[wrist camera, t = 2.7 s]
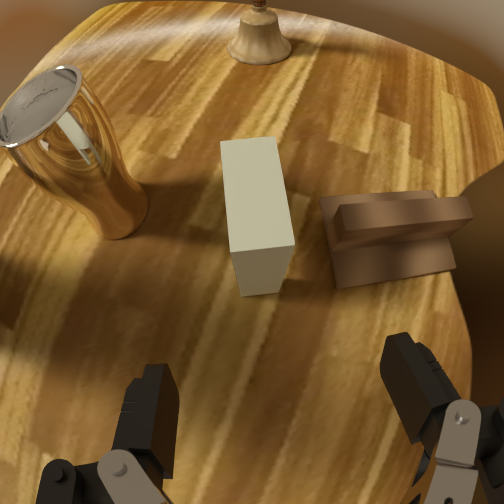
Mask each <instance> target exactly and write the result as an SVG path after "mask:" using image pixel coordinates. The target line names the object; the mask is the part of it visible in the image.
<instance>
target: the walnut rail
mask: <svg viewBox="0 0 504 504" xmlns="http://www.w3.org/2000/svg"><path fill="white" fill-rule="evenodd" d="M319 203H320V207H321V212H322V217H323V221H324V226H325V231H326V235H327V240H328V245H329V250H330V256H331V261H332V266H333V271H334V277H335V282H336V288H337V289H341V288H348V287H355V286H361V285H368V284H374V283H380V282H386V281H392V280H398V279H404V278H410V277H415V276H421V275H427V274H432V273H438V272H443V271H448V270H453V269H455V268H456V264H455V260H454V256H453V252H452V249H451V245H450V241H449V238H448V237H449V236H451V235H452V234H453V233H454V232H456V231H457V230H459V229H460V228H461V227H463V226H464V225H465V224H467V223H468V222H469V221H470V220H472V219H473V218H474V217H473V214H472V211H471V208H470V205H469V203H468V200H467V197H466V196H465V197H443V198H436V197H435V194H434V192H433V190H424V191H404V192H386V193H370V194H356V195H342V196H330V197H320V199H319Z"/></svg>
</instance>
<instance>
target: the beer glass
mask: <svg viewBox="0 0 504 504" xmlns="http://www.w3.org/2000/svg"><path fill="white" fill-rule="evenodd" d="M0 147H1V148H2V150H3V151H4V152H5V153H6V155H7V156H8V157H9V158H10V160H11V161H12V162H13V163H14V165H15V166H16V167H17V168H18V169H19V170H20V172H21V173H22V174H23V175H24V176H25V177H26V178H27V179H28V180H29V181H30V182H31V183H33V184H34V185H35V186H36V187H37V188H38V189H40V190H41V191H42V192H44V193H45V194H47V195H49V196H50V197H52V198H53V199H55V200H57V201H59V202H61V203H62V204H64V205H66V206H68V207H70V208H72V209H74V210H76V211H78V212H80V213H81V214H82V215H84V216H85V217H86V219H87V220H88V222H89V224H90V225H91V227H92V229H93V230H94V231H95V232H96V233H97V234H98V235H99V236H101V237H103V238H105V239H110V240H116V239H121V238H124V237H126V236H128V235H130V234H131V233H133V232H134V231H135V230H136V229H137V228H138V227H139V226H140V225H141V224H142V222H143V220H144V219H145V216H146V214H147V210H148V197H147V194H146V192H145V190H144V189H143V188H142V186H141V185H139V184H138V183H137V182H136V181H135V180H133V179H132V178H131V176H130V175H129V173H128V171H127V169H126V166H125V163H124V159H123V156H122V152H121V149H120V145H119V142H118V139H117V136H116V133H115V130H114V128H113V125H112V123H111V121H110V119H109V117H108V115H107V113H106V111H105V109H104V108H103V106H102V104H101V102H100V101H99V99H98V98H97V96H96V95H95V93H94V91H93V90H92V88H91V87H90V86H89V84H88V83H87V81H86V80H85V78H84V77H83V75H82V73H81V71H80V69H79V68H77V67H76V66H73V65H59V66H56V67H52V68H50V69H47V70H45V71H43V72H41V73H40V74H38V75H36V76H35V77H33V78H32V79H30V80H29V81H28V82H26V83H25V84H24V85H23V86H22V87H21V88H19V89H18V90H17V91H16V92H15V93H14V95H13V96H12V97H11V98H10V99H9V101H8V102H7V103H6V105H5V106H4V108H3V109H2V111H1V113H0Z"/></svg>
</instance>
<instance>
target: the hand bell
mask: <svg viewBox="0 0 504 504" xmlns="http://www.w3.org/2000/svg"><path fill="white" fill-rule="evenodd" d="M251 4H252V9H249V10H247V11H245V12H244V13H242V15H241V18H240V26H239V30H238V33H237V34H236V35H235V36H234V37H233V38H232V39H231V40H230V41H229V43H228V46H227V50H228V53H229V54H230V56H231V57H233V58H234V59H235V60H237V61H240V62H243V63H247V64H252V65H267V64H273V63H276V62H279V61H281V60H283V59H285V58H286V57H288V55H289V54H290V52H291V45H290V43H289V41H288V40H287V38H286V37H284V36H283V35H282V34H281V32H280V29H279V24H278V17H277V14H276V13H275V12H273V11H272V10H269V9H267V8H266V0H252V1H251Z"/></svg>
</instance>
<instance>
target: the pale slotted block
mask: <svg viewBox="0 0 504 504" xmlns="http://www.w3.org/2000/svg"><path fill="white" fill-rule="evenodd" d="M220 145H221V157H222V169H223V180H224V192H225V203H226V214H227V224H228V235H229V245H230V254H231V258H232V262H233V266H234V270H235V275H236V279H237V283H238V287H239V291H240V295H241V297H244V296H253V295H261V294H270V293H278V292H279V290H280V287H281V285H282V282H283V279H284V276H285V273H286V270H287V267H288V265H289V262H290V259H291V256H292V253H293V250H294V247H295V241H294V235H293V229H292V224H291V218H290V212H289V207H288V201H287V196H286V191H285V185H284V180H283V175H282V169H281V164H280V159H279V154H278V149H277V144H276V139H275V136H271V137H259V138H248V139H238V140H229V141H220Z"/></svg>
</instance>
